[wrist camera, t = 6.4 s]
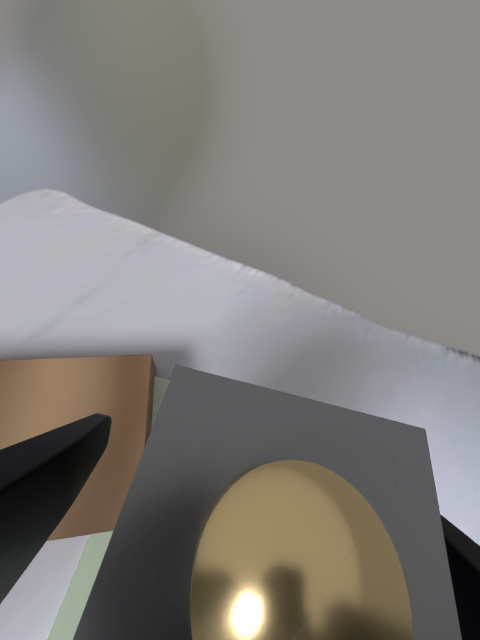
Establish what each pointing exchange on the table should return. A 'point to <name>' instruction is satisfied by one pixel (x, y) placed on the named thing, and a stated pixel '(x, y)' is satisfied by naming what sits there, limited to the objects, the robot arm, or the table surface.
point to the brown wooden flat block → (76, 403)
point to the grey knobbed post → (274, 525)
